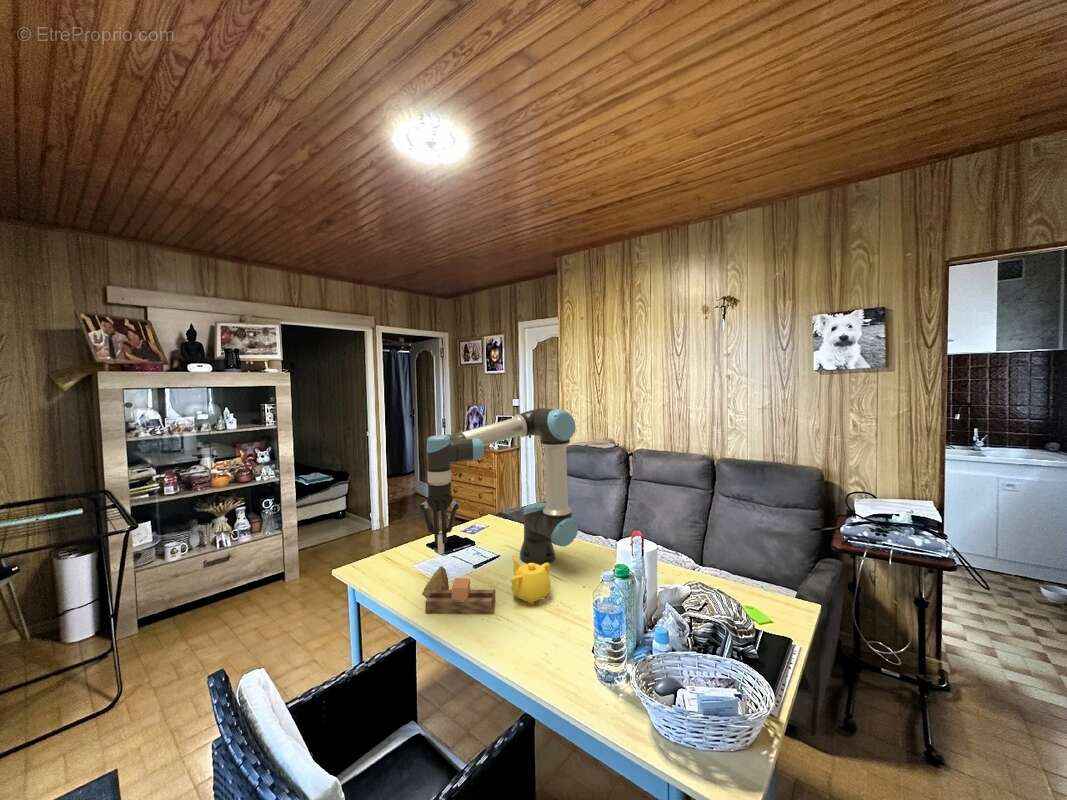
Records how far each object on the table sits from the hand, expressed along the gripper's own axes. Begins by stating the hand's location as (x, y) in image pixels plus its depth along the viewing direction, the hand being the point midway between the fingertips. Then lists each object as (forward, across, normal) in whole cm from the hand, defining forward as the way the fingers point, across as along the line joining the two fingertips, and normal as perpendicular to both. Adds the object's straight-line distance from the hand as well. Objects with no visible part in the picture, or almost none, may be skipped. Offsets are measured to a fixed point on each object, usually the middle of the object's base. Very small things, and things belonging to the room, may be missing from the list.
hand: (441, 552), depth 139 cm
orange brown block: (+17, -6, 0) cm, 18 cm away
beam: (+19, -6, 0) cm, 20 cm away
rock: (+19, +4, -6) cm, 20 cm away
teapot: (+19, -28, -8) cm, 35 cm away
